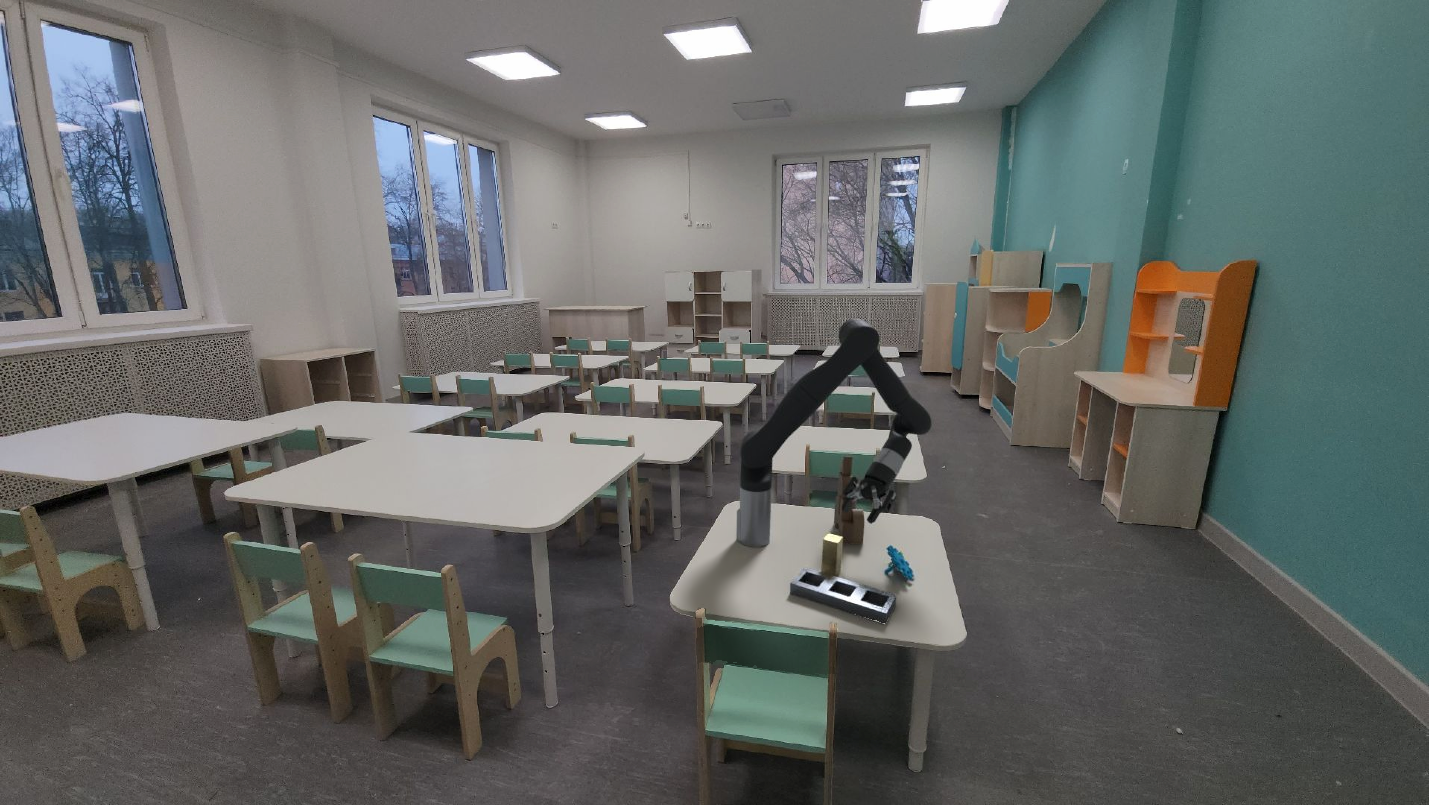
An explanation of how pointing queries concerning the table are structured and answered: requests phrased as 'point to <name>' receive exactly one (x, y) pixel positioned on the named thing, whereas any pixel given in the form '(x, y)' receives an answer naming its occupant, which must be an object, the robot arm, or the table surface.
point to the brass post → (832, 554)
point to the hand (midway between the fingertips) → (856, 516)
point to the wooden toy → (854, 518)
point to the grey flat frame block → (848, 604)
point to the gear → (898, 563)
